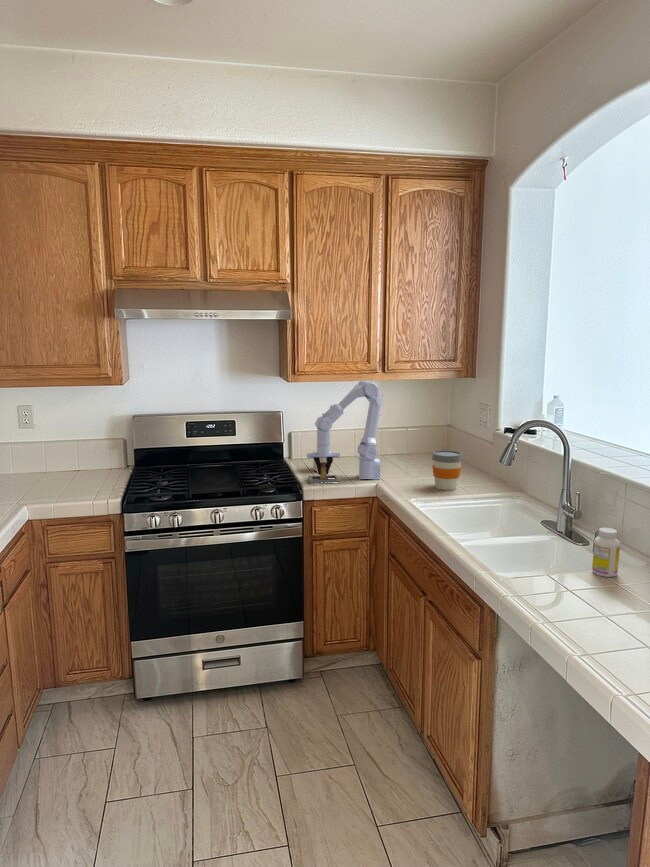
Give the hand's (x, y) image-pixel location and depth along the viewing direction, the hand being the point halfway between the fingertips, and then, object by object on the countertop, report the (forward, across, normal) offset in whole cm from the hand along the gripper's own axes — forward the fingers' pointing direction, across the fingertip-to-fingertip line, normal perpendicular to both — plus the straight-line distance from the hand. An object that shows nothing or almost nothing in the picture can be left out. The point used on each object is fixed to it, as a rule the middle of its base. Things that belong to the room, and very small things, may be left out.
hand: (323, 473), depth 271 cm
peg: (+3, 0, 0) cm, 3 cm away
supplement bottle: (+3, -68, +108) cm, 128 cm away
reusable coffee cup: (+3, -52, +15) cm, 54 cm away
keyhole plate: (+3, 0, 0) cm, 3 cm away
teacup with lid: (+4, -2, -21) cm, 21 cm away
